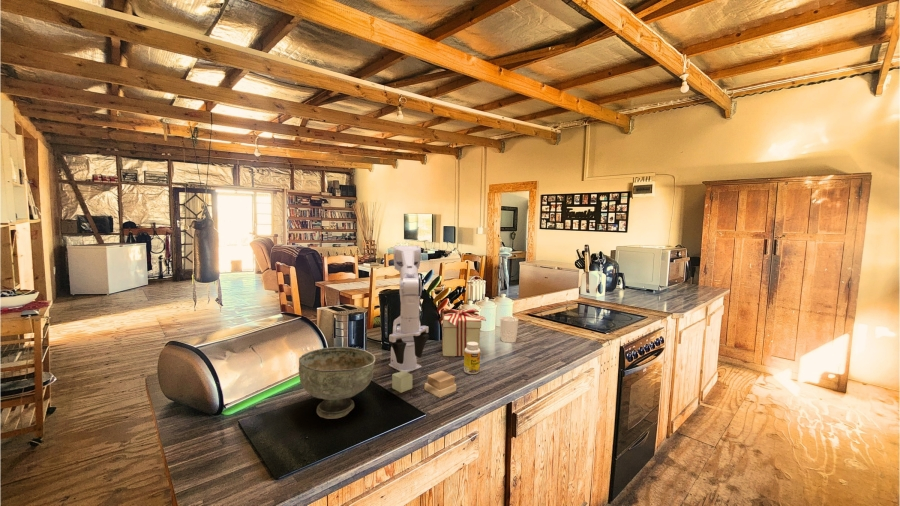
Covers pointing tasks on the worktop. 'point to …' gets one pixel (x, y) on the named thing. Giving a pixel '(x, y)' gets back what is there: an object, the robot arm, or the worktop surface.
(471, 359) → the supplement bottle
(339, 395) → the bowl
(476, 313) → the gift box
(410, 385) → the cube
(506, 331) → the beige speckled cup
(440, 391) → the bottom slab
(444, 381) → the top slab
